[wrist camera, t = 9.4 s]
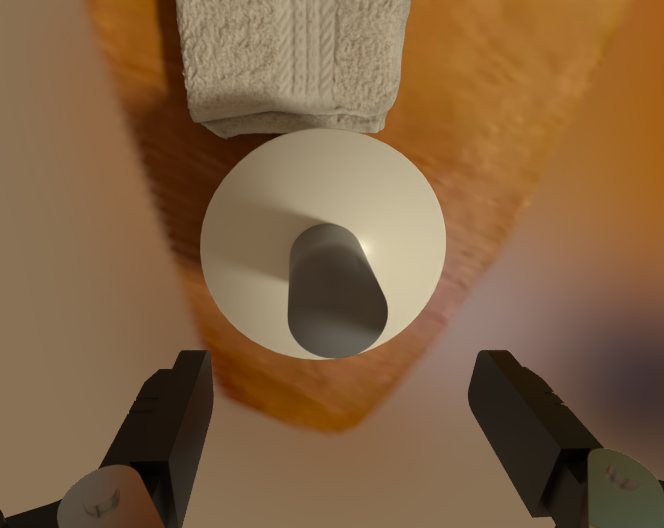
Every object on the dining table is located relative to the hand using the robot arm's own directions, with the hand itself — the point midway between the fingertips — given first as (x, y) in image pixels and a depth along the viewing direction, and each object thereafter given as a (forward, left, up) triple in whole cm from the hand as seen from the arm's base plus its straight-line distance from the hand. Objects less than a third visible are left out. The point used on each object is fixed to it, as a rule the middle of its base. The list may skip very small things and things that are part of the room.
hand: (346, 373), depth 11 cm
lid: (0, 0, -9) cm, 9 cm away
